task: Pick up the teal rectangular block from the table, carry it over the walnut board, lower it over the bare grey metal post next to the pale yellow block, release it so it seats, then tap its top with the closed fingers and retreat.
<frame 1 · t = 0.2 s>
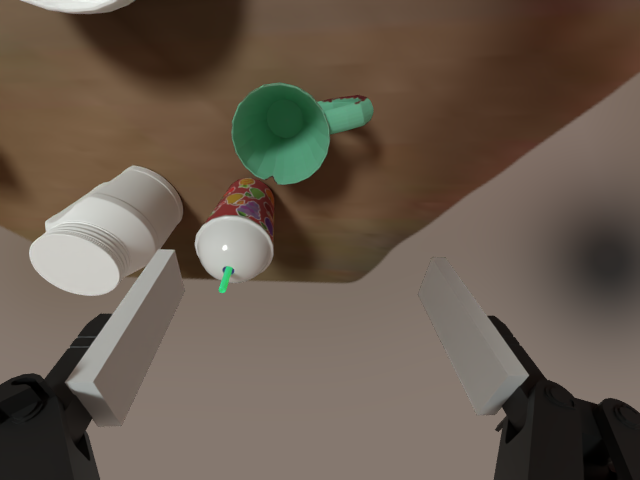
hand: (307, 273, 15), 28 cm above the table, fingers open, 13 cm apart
jar: (142, 202, 42), on the table
mug: (303, 113, 37), on the table
smoothie: (252, 195, 42), on the table
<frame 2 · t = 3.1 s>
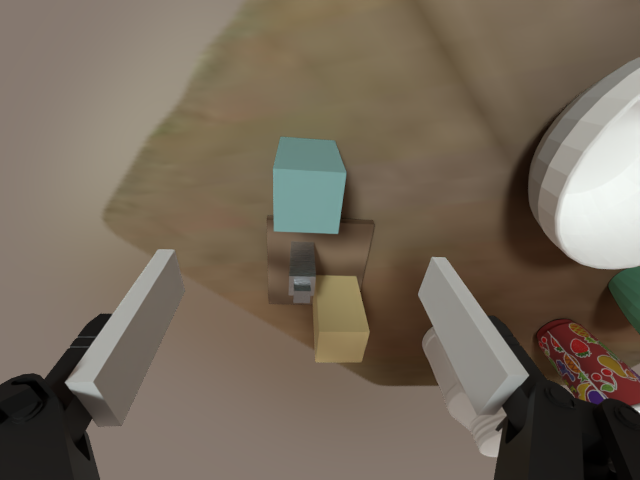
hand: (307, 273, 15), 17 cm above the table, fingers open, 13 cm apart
bowl: (589, 143, 29), on the table
jar: (456, 335, 46), on the table
pale yellow block: (333, 290, 37), resting on board
teal rectangular block: (306, 165, 29), on the table
post: (301, 250, 33), resting on board
smoothie: (553, 328, 46), on the table
board: (316, 262, 36), on the table
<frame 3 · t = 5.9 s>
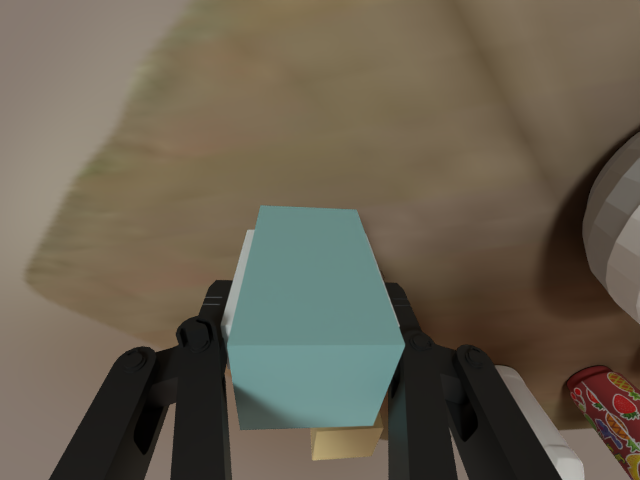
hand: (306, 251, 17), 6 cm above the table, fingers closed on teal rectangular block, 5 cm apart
jar: (475, 387, 39), on the table
pale yellow block: (332, 351, 30), resting on board
teal rectangular block: (306, 246, 17), point 6 cm above the table, touching gripper
smoothie: (585, 375, 40), on the table
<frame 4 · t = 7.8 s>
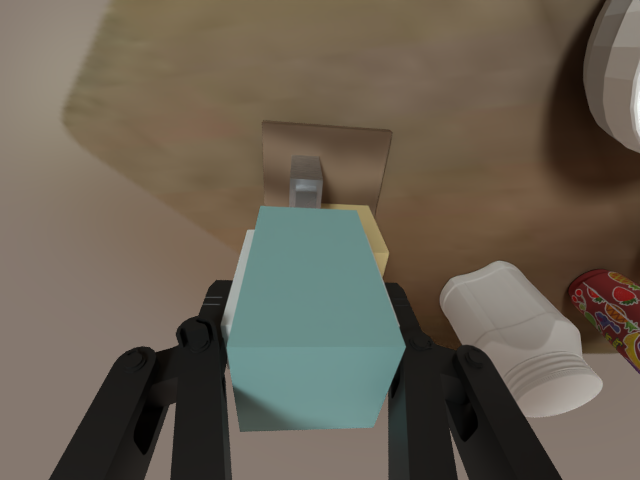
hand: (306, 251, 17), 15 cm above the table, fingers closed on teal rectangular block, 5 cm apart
jar: (478, 290, 41), on the table
pale yellow block: (341, 225, 32), resting on board
teal rectangular block: (306, 247, 17), point 14 cm above the table, touching gripper
post: (304, 168, 28), resting on board
smoothie: (587, 282, 41), on the table
board: (321, 189, 30), on the table
when the fingers open (2 cm above the table, at t = 10.2 s): teal rectangular block stays where it is, resting on board.
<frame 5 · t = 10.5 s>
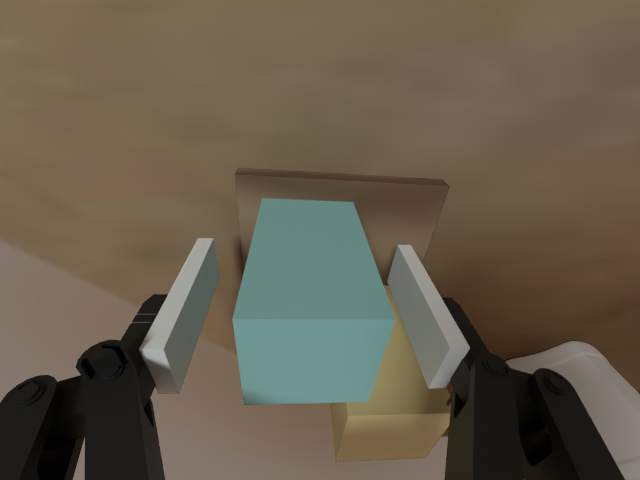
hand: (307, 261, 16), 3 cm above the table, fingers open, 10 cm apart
jar: (537, 372, 31), on the table
pale yellow block: (360, 310, 22), resting on board
teal rectangular block: (306, 238, 18), point 1 cm above the table, touching board
board: (332, 262, 20), on the table
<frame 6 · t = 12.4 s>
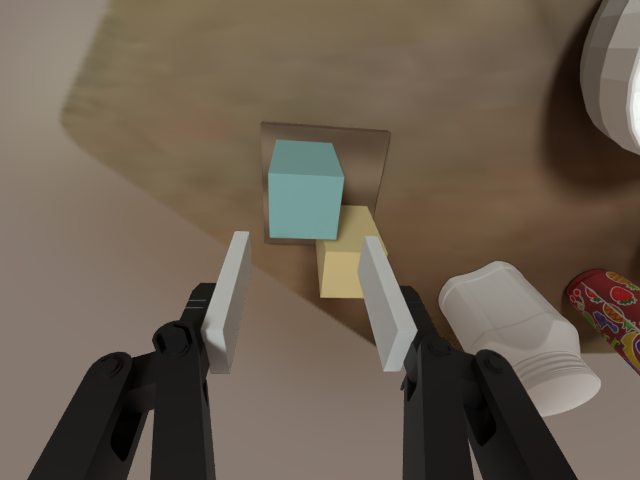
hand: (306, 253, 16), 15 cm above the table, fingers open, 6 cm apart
jar: (477, 290, 41), on the table
pale yellow block: (340, 225, 32), resting on board
teal rectangular block: (303, 168, 28), point 1 cm above the table, touching board
smoothie: (585, 282, 41), on the table
board: (320, 189, 30), on the table
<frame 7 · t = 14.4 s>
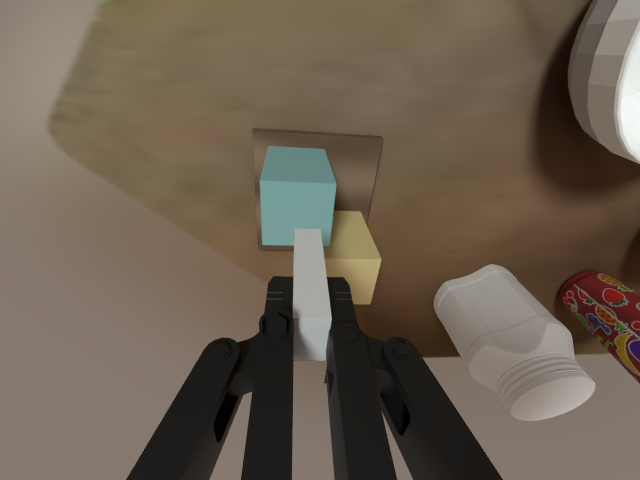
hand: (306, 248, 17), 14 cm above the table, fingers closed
bowl: (635, 31, 25), on the table
jar: (471, 293, 41), on the table
pale yellow block: (334, 231, 32), resting on board
teal rectangular block: (295, 174, 28), point 1 cm above the table, touching board
smoothie: (577, 284, 42), on the table
board: (313, 195, 30), on the table
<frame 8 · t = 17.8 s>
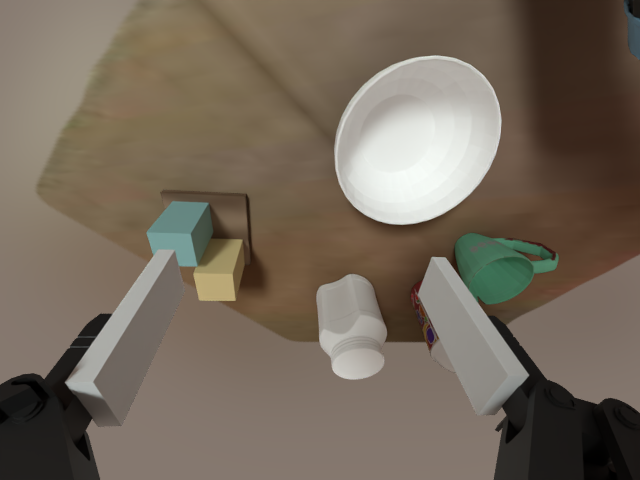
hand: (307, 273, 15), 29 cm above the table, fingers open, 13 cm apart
bowl: (394, 134, 40), on the table
jar: (345, 294, 56), on the table
pale yellow block: (227, 251, 47), resting on board
teal rectangular block: (193, 217, 43), point 1 cm above the table, touching board
mug: (481, 240, 51), on the table
smoothie: (424, 288, 57), on the table
board: (211, 228, 46), on the table
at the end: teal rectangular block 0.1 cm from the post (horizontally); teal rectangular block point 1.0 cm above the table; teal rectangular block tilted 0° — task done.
